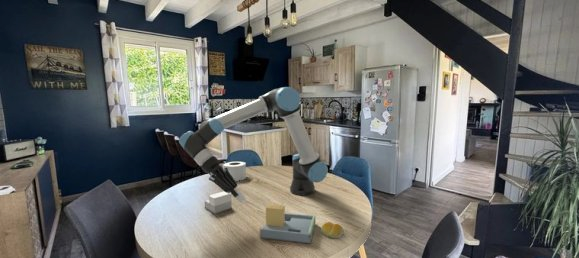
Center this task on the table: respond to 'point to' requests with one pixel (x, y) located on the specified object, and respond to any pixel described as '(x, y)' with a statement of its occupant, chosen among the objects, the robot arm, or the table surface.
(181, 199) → the table surface
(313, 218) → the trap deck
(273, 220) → the ochre block
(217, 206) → the foam block
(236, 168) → the roll of tape
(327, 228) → the bread roll
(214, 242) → the table surface
